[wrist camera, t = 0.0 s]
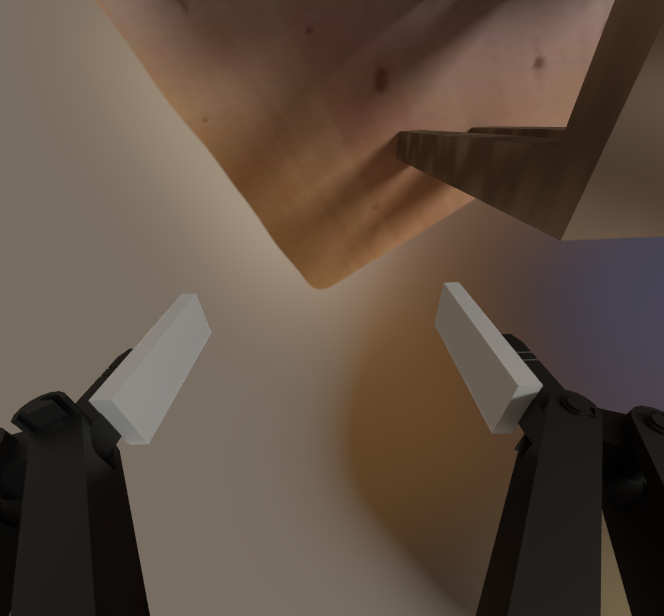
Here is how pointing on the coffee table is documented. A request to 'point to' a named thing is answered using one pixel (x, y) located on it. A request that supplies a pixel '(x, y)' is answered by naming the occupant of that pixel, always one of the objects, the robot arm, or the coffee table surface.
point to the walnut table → (574, 145)
